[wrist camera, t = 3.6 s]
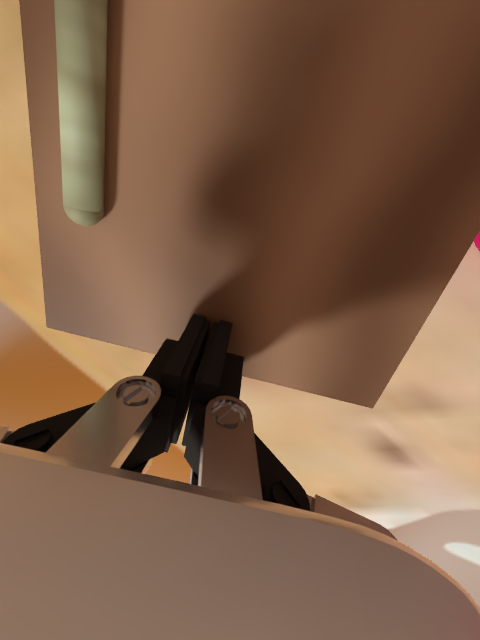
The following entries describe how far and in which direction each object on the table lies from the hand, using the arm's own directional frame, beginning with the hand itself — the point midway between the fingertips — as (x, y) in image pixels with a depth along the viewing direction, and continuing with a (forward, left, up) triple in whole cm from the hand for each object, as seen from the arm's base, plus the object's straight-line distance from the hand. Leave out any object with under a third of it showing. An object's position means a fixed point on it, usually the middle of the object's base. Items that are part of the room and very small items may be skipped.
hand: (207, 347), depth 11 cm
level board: (0, -8, -2) cm, 8 cm away
